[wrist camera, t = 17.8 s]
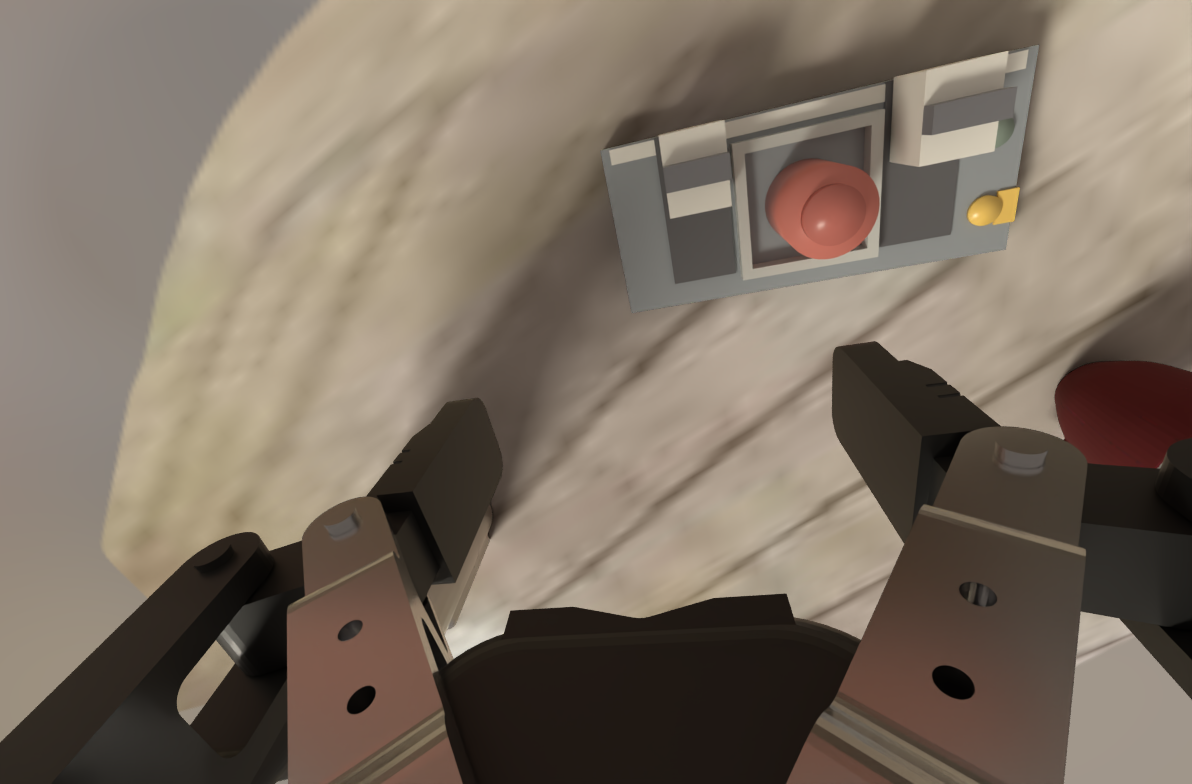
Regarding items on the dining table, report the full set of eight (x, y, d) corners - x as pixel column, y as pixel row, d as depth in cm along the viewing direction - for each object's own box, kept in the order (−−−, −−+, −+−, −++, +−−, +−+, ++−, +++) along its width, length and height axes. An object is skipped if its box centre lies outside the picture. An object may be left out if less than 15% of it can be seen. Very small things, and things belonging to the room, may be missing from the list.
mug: (1059, 475, 37) (1181, 583, 28) (968, 437, 36) (1064, 535, 28) (1192, 361, 32) (1391, 450, 23) (1088, 313, 31) (1253, 387, 23)
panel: (987, 241, 30) (1018, 253, 27) (633, 303, 34) (630, 318, 32) (1015, 49, 25) (1056, 40, 23) (603, 149, 30) (598, 151, 27)
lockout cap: (844, 231, 29) (882, 253, 24) (767, 245, 30) (787, 269, 25) (845, 149, 27) (887, 155, 22) (762, 168, 28) (784, 177, 23)
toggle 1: (724, 197, 28) (734, 209, 24) (669, 208, 29) (670, 222, 25) (717, 120, 27) (726, 119, 23) (658, 134, 27) (658, 136, 23)
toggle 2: (955, 148, 26) (1007, 152, 22) (889, 162, 27) (929, 168, 23) (964, 59, 24) (1023, 47, 20) (893, 77, 25) (937, 68, 21)
